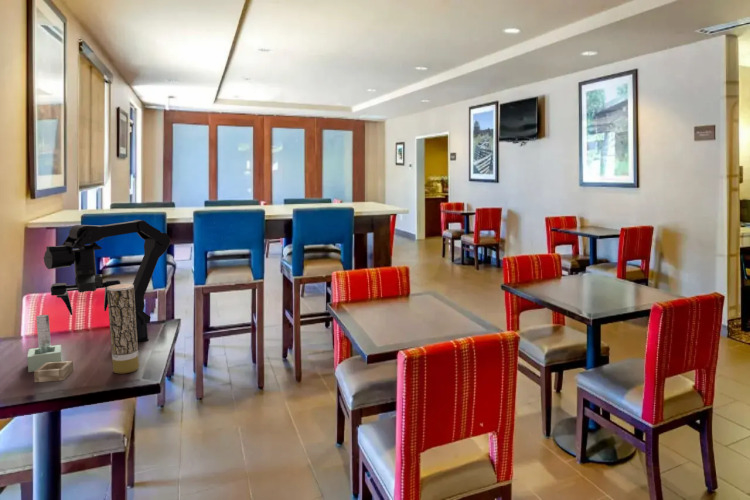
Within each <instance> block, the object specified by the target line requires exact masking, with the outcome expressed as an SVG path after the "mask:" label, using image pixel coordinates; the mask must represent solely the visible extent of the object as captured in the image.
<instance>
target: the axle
mask: <svg viewBox="0 0 750 500" xmlns="http://www.w3.org/2000/svg"><path fill="white" fill-rule="evenodd" d="M36 327H37V328H36V330H37V344H38V348H39V354H42V353H48V352H51V346H52V342H51V341H52V340H51V329H50V327H51V325H50V316H49V314H40V315H36Z"/></svg>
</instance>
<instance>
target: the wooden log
mask: <svg viewBox="0 0 750 500" xmlns="http://www.w3.org/2000/svg"><path fill="white" fill-rule="evenodd" d="M107 295H108V306H107V309H108V320H109V331H110V332H109V333H110V337H109V338H110V345H111V346H110V347H111V348H110V349H111V359H112V362H111V363H112V371H113V372H114V373H116V374H118V375H120V374H121V375H123V374H129V373H130V374H131V373H133V372H136V371H137V370H138V369H139V367H140V362H139V361H140V360H139V345H138V344H139V343H138V341H137V325H136V309H135V294H134V285H133V283H120V284H118V285H112V286H108V287H107Z"/></svg>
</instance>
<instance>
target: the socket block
mask: <svg viewBox="0 0 750 500" xmlns="http://www.w3.org/2000/svg"><path fill="white" fill-rule="evenodd" d="M62 352H63V351H62V345H61V344H55V345H51V352H48V353H42V354H39V347H34V348H29V349H28V352H27V357H26V360H27V369H28V370H27V371H28V373H31V372H33V373H34V371H36V370H37V369H38V368H39V367H41V366H42V365H43V364H44V363H46V362H61V361H63V353H62Z"/></svg>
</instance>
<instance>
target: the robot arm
mask: <svg viewBox="0 0 750 500" xmlns="http://www.w3.org/2000/svg"><path fill="white" fill-rule="evenodd" d="M134 233H137V235H138V236H139V237H140V238H141V239H142V240H144V244H143V250H144V255H143V257H142V260H141V263H140V264H139V268H138V270H137V272H136V275H135V278H134V279H133V283H132V284H133V285H134V294H135V309H136V325H137V341H138V342H139V343H140V342H143V341H144V342H145V341H146V342H147V341H149V340H150V339H149V337H148V336H149V335H148V324H149V323H150V321H151V315H149V314H148V313H146V312H145V311H144V310H145V306H146V305H145V295H146V292H147V289H148V287H149V284H150V281H151V279H152V277H153V274H154V272H155V268H156V266H157V264H158V261H159V259H160V258H161V257H162V256H163V255H164V253H166V252H167V250H168V248H169V246H170V244H171V238H170V236H169V234H168V233H166V232H162V230H161V231H160V230H159V229H158V228H157V227H154V226H153V225H151V224H150V223H148V222H147V221H146V220H143V219H142V220H141V219H134V220H132V221H124V222H117V223H110V224H103V225H93V224H92V225H91V224H75V225H72V226H71V228H70V229H69V231H68V235H67V237H66V238H65V239H64V241H63V243H62V244H61V245H57V246H56V245H55V246H52V245H48V246H45V247H46V250H45V252H44V256H43V262H44V265H45V267H46V268H47V269H48V270H53V269H61V268H62V269H63V268H70V267H72V265H74V276H75V278H74V279H75V280H74V283H75V284H67V282H58V283H57V282H56V283H52V284H51V286H50V295H51V296H56V298H58V299H60V298H61V300H62V301H63V302H64V303H65V306H66V307H67V308H66V309H67V310H68V312H69V314H70V316H73V308H72V303H71V300H70V299H71V298H70V295H69V292H71V291H77V292H78V293H85V292H91V293H92V292H96V290H97V289H102V288H103V289H104V302H103V310H104V312H106V311H107V309H108V295H107V287H108V286H112V285H118V284H121V281H120V279H119V278H117V277H114V278H105V281H103V280H104V278H103V274H97V268H96V267H97V266H96V257H95V256H96V255H95V254H96V253H95V251H99V250H102V246H100V245H98V244H97V242H98V241H101V240H103V239H105V238H107V237H108V238H109V237H115V236H121V235H126V234H128V235H129V234H134Z"/></svg>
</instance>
